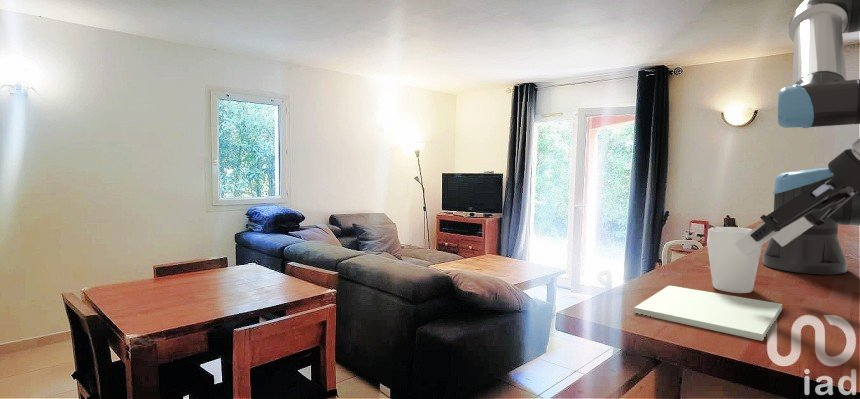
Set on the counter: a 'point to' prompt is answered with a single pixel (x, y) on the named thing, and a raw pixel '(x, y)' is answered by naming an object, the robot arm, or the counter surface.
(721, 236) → the cup
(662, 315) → the sage board
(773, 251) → the robot arm
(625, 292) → the counter surface
